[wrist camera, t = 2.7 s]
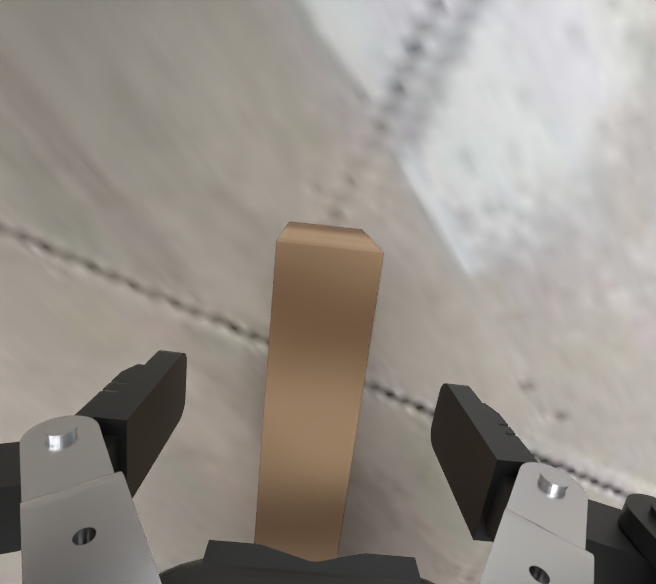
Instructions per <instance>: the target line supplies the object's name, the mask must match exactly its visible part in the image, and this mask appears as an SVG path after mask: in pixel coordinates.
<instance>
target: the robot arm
mask: <svg viewBox="0 0 656 584" xmlns="http://www.w3.org/2000/svg"><path fill="white" fill-rule="evenodd" d="M186 369H187V357H186V354H185V353H179V352H170V351H161V350H160V351H158V352H157V353H156V354H155V355H154V356H153V357H152V358H151V359H150V360H149V361H148V362H147V363H146V364H145V365H140V364H137V365H135V366H133V367H131V368H129V369H126V370H124V371H122V372H121V373H120V374H119V375H118V376H117V377H116V378H114V379H113V380H112V382H111V383H109V384H108V385H107V386H106V387H105V388H104V389H103V391H100V392H99V393H98V394H97V395H96V396H95V397H94V398H93V399H92V400H91V401H90V402H88V403H87V404H86V405H85V406H84V407H83V408H82V409H81V410H80V411H79V412H78V413H77V414H75V415H72V416H63V417H58V418H54V419H50V420H47V421H45V422H42V423H40V424H38V425H36V426H34V427H33V428H31V429H30V430H29V431H27V432H26V433H25V434H24V435H23V437H22V438H21V440H20V442H14V443H4V444H0V554H4V553H10V552H15V551H20V550H21V554H22V584H434V583H432V582H430V581H428V580H426V579H423V578H420V575H419V571H418V568H417V564H416V560H415V558H413V557H401V556H390V555H378V554H366V553H365V554H359V555H353V556H348V557H342V558H336V559H330V560H324V561H318V562H313V561H308V560H305V559H302V558H299V557H296V556H293V555H290V554H287V553H285V552H282V551H279V550H276V549H273V548H270V547H267V546H264V545H261V544H250V543H239V542H227V541H215V540H209V542H208V545H207V549H206V552H205V555H204V558H203V559H200V560H195V561H191V562H188V563H184V564H181V565H178V566H176V567H173V568H171V569H168V570H166V571H164V572H162V573H160V574H158V572H157V569H156V566H155V563H154V560H153V557H152V554H151V551H150V549H149V546H148V543H147V540H146V537H145V534H144V531H143V529H142V526H141V523H140V520H139V517H138V514H137V511H136V508H135V506H134V503H133V500H132V498H133V497H134V495H135V493H136V492H137V490H138V488H139V487H140V485H141V484H142V482H143V480H144V479H145V477H146V475H147V474H148V472H149V470H150V469H151V467H152V465H153V464H154V462H155V460H156V459H157V457H158V455H159V454H160V452H161V450H162V449H163V447H164V445H165V444H166V442H167V440H168V439H169V437H170V435H171V434H172V432H173V430H174V429H175V427H176V426H177V424H178V422H179V420H180V418H181V416H182V413H183V409H184V405H185V392H186ZM431 443H432V447H433V449H434V451H435V454H436V456H437V458H438V461H439V463H440V465H441V467H442V470H443V472H444V474H445V476H446V479H447V481H448V483H449V485H450V488H451V490H452V492H453V495H454V497H455V499H456V501H457V504H458V506H459V508H460V510H461V513H462V515H463V517H464V519H465V522H466V524H467V526H468V529H469V531H470V533H471V535H472V538H473V540H480V541H491V542H493V545H492V548H491V551H490V554H489V557H488V560H487V563H486V566H485V569H484V571H483V574H482V577H481V580H480V583H479V584H656V498H655V497H652V496H648V495H644V494H631V495H629V496H628V497H627V499H626V501H625V504H624V506H623V509H622V510H620V509H617V508H614V507H611V506H608V505H605V504H601V503H598V502H595V501H592V500H589V499H588V497H587V494H586V492H585V491H584V489H583V488H582V487H581V485H580V484H579V483H578V482H576V481H575V480H574V479H573V478H572V477H570V476H569V475H567V474H566V473H564V472H562V471H560V470H558V469H556V468H554V467H552V466H549V465H546V464H542V463H538V462H537V460H536V459H535V458H534V457H533V455H532V454H531V453H530V452H529V450H528V449H527V448H526V447H525V445H524V444H523V443H522V442H521V440H520V439H519V438H518V437H517V436H515V433H514V432H513V430H512V429H511V428H510V427H508V424H507V423H506V422H505V420H504V419H503V418H502V417H501V415H500V414H499V413H497V412H496V411H495V410H493V409H492V408H491V407H489V406H488V405H486V404H485V403H482V402H481V401H480V400H479V398H478V397H477V396H476V394H475V393H474V392H473V391H472V389H471V388H470V387H469V386H464V385H456V384H447V383H445V384H443V385H442V387H441V389H440V392H439V397H438V401H437V405H436V409H435V414H434V418H433V422H432V427H431Z"/></svg>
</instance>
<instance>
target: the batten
mask: <svg viewBox="0 0 656 584" xmlns="http://www.w3.org/2000/svg"><path fill="white" fill-rule="evenodd" d="M383 256H384V252H383V251H382V250H381V249H380V248H379V247H378V246H377V245H376V244H375V243H374V242H373V241H372V240H371V239H370V237H369V236H368V235H367V234H366V233H365V232H364V231H363V230H362V229H352V228H343V227H334V226H325V225H316V224H307V223H297V222H289V223H288V225H287V226H286V228H285V229H284V231H283V232H282V234H281V235H280V237H279V238H278V240H277V241H276V254H275V267H274V281H273V295H272V308H271V322H270V336H269V349H268V363H267V376H266V390H265V404H264V417H263V431H262V445H261V458H260V472H259V485H258V499H257V513H256V526H255V540H254V544H261V545H264V546H267V547H270V548H273V549H276V550H279V551H282V552H285V553H287V554H290V555H293V556H296V557H299V558H302V559H305V560H308V561H313V562H318V561H324V560H330V559H336V558H337V554H338V548H339V541H340V535H341V528H342V522H343V515H344V509H345V502H346V496H347V489H348V483H349V477H350V470H351V464H352V457H353V451H354V444H355V438H356V431H357V425H358V418H359V412H360V405H361V399H362V392H363V386H364V379H365V373H366V366H367V360H368V353H369V347H370V340H371V334H372V327H373V321H374V314H375V308H376V302H377V295H378V289H379V282H380V276H381V269H382V263H383Z"/></svg>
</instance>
